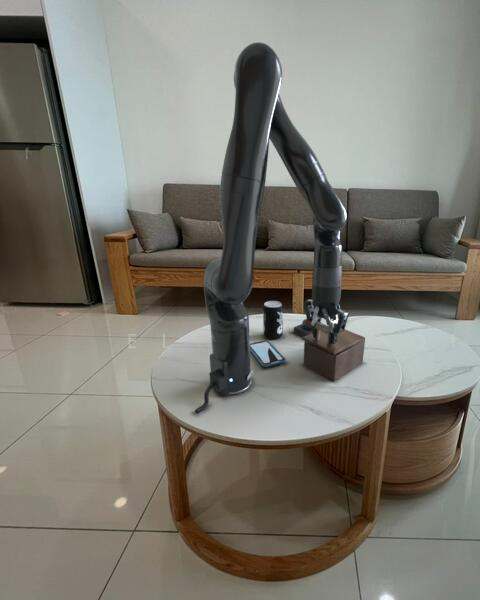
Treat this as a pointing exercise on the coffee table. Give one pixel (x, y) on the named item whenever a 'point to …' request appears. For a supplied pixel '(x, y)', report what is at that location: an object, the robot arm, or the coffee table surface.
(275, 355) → the smartphone
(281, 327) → the beverage can
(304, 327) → the button base
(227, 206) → the robot arm
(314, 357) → the keepsake box
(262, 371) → the coffee table surface
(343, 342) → the lid
